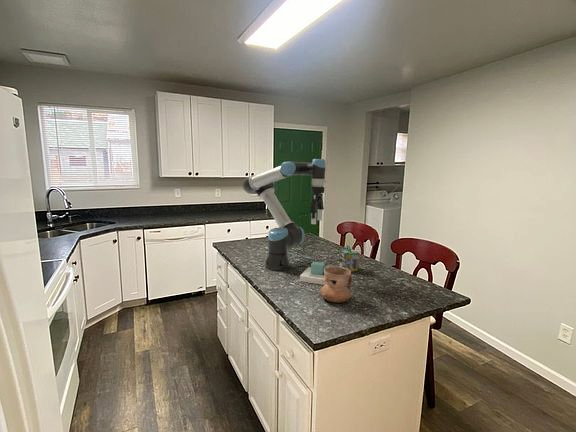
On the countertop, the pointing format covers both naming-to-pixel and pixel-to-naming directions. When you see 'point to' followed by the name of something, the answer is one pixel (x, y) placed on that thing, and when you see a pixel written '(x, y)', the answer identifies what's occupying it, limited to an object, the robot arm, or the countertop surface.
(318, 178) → the robot arm
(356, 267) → the chalk box
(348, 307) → the countertop surface
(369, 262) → the countertop surface
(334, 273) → the ceramic jug
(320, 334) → the countertop surface
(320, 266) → the teal block figurine
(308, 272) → the socket
